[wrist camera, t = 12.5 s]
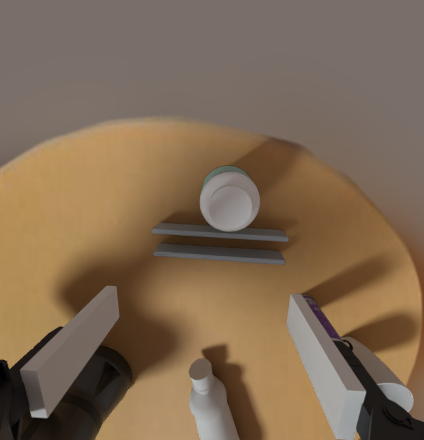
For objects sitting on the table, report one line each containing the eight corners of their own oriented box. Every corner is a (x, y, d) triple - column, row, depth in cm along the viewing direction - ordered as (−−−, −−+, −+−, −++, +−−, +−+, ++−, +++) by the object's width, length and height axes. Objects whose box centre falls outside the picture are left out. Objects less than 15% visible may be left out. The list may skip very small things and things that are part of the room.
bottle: (256, 465, 45) (230, 359, 40) (236, 522, 38) (202, 403, 33) (224, 439, 51) (198, 343, 45) (202, 484, 44) (168, 378, 39)
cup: (339, 324, 39) (377, 375, 29) (375, 339, 39) (425, 395, 29) (317, 353, 41) (346, 410, 31) (352, 368, 41) (392, 429, 31)
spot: (200, 216, 35) (200, 216, 35) (202, 164, 33) (202, 164, 33) (251, 219, 35) (251, 219, 34) (256, 166, 32) (256, 166, 32)
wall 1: (160, 226, 36) (152, 233, 32) (160, 222, 36) (152, 228, 32) (281, 234, 35) (288, 241, 31) (281, 229, 35) (288, 237, 31)
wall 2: (160, 247, 37) (153, 255, 33) (160, 243, 37) (153, 251, 33) (278, 254, 36) (284, 264, 32) (278, 250, 36) (285, 260, 32)
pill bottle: (200, 204, 34) (184, 225, 21) (216, 163, 33) (210, 159, 19) (238, 220, 35) (247, 251, 22) (257, 181, 33) (278, 189, 20)
